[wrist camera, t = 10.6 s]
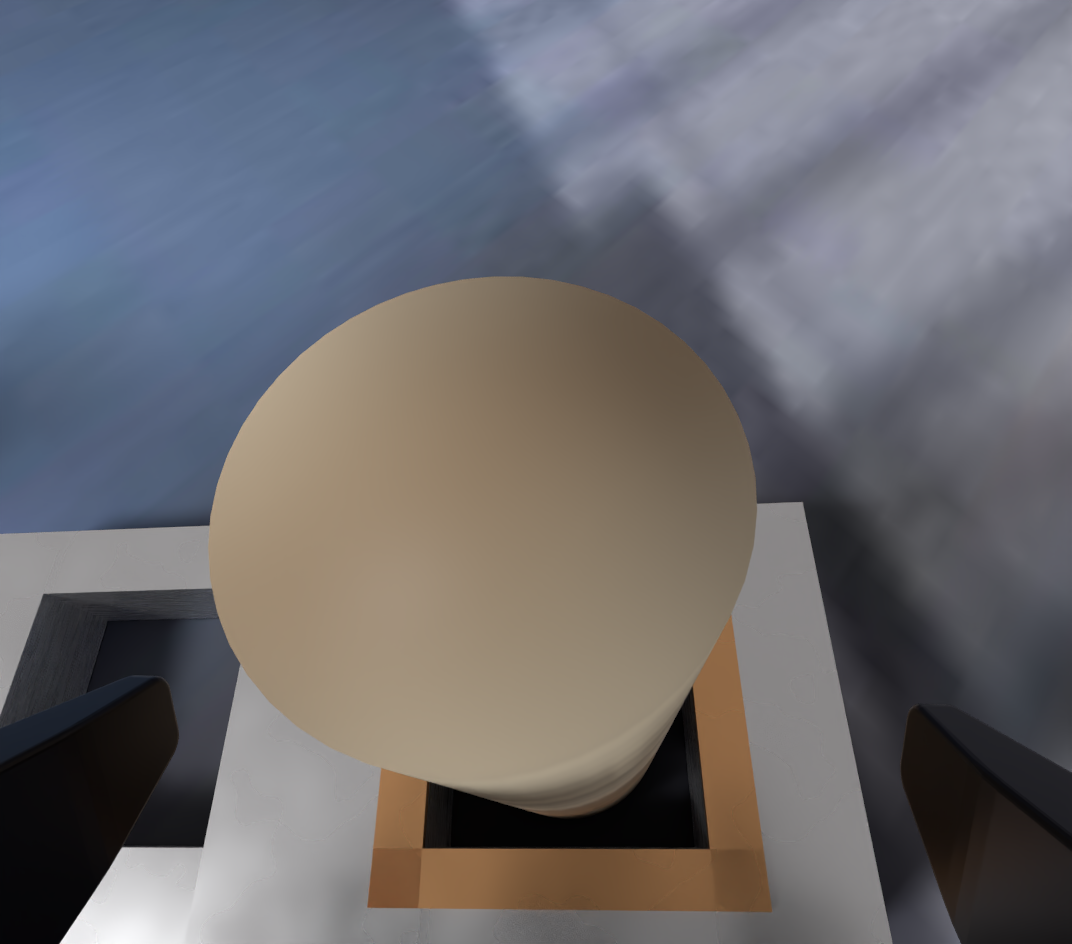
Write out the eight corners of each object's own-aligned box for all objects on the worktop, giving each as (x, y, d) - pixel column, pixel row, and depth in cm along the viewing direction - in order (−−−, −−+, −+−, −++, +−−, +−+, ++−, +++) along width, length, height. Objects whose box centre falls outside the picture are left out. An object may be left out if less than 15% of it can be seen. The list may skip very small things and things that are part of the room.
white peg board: (779, 541, 19) (804, 498, 16) (852, 939, 14) (899, 960, 12) (28, 567, 20) (-49, 533, 18) (-106, 926, 16) (-229, 942, 14)
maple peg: (694, 723, 17) (878, 474, 5) (565, 864, 15) (434, 948, 4) (568, 598, 18) (498, 210, 7) (444, 716, 17) (115, 484, 6)
